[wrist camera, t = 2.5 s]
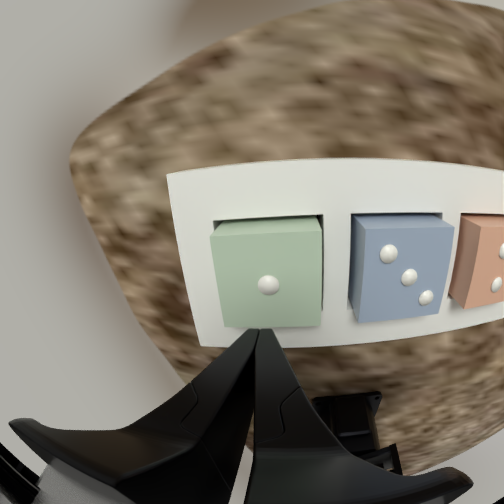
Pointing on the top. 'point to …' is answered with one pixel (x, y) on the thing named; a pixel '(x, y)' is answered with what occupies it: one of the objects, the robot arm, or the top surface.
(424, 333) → the button panel
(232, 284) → the button one dot
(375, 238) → the button three dots
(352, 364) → the top surface
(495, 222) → the button two dots
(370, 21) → the top surface
